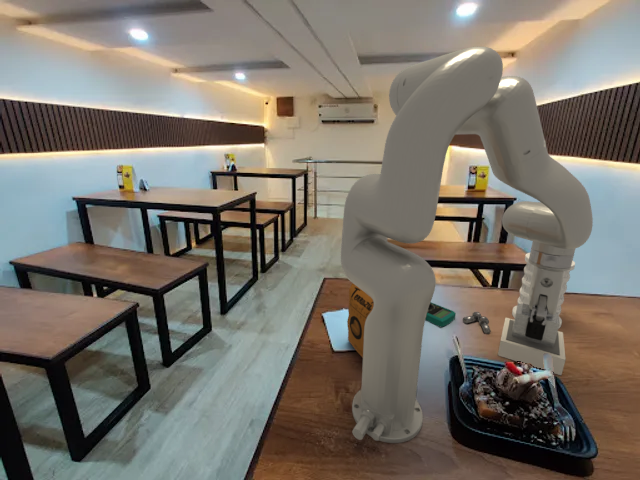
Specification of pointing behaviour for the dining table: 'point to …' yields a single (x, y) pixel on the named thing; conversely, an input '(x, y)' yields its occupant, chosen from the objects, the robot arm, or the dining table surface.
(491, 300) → the dining table surface
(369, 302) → the coffee package
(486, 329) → the bolt
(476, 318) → the bolt
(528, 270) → the decorative container
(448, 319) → the digital multimeter
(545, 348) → the stand
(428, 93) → the robot arm
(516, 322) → the housing
